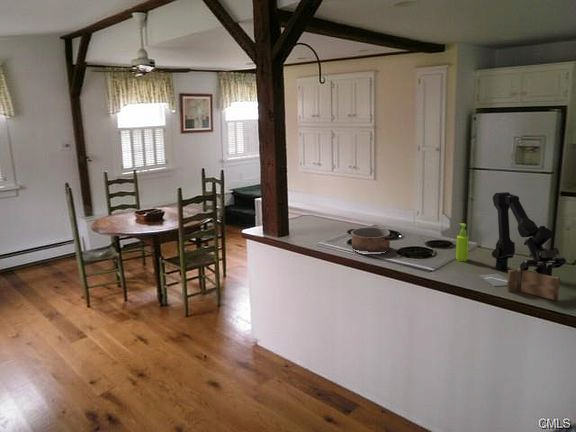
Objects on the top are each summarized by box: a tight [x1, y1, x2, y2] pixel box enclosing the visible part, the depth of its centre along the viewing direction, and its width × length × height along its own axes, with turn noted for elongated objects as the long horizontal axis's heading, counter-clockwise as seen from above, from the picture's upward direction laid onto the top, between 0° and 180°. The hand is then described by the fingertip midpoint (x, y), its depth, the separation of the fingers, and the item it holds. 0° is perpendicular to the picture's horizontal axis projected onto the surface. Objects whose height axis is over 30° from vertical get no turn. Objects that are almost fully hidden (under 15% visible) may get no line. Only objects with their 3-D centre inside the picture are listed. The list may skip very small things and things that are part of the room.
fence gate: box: [520, 269, 561, 302], centre depth 198 cm, size 15×2×10 cm, turn 39°
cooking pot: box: [346, 226, 396, 252], centre depth 272 cm, size 30×22×11 cm
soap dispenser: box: [455, 222, 470, 262], centre depth 247 cm, size 6×7×20 cm
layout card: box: [478, 273, 508, 288], centre depth 219 cm, size 14×10×1 cm
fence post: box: [506, 267, 523, 293], centre depth 205 cm, size 6×2×10 cm, turn 96°
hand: (550, 281), depth 196 cm, fingers closed
